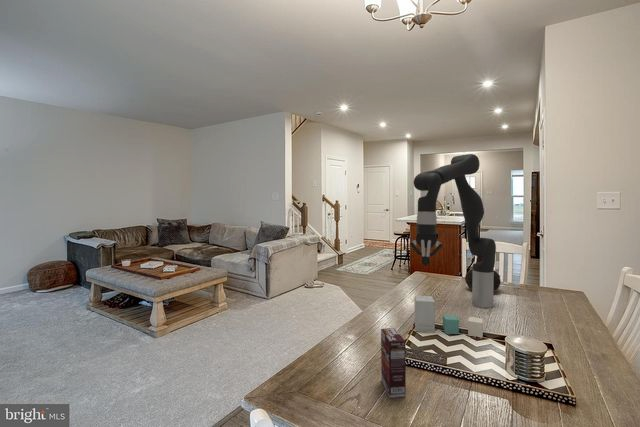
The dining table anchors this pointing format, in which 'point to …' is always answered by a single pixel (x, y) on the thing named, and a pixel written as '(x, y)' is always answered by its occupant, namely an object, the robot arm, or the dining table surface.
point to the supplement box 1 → (393, 362)
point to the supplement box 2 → (424, 314)
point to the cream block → (475, 326)
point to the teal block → (450, 324)
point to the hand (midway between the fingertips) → (425, 265)
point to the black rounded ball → (470, 277)
